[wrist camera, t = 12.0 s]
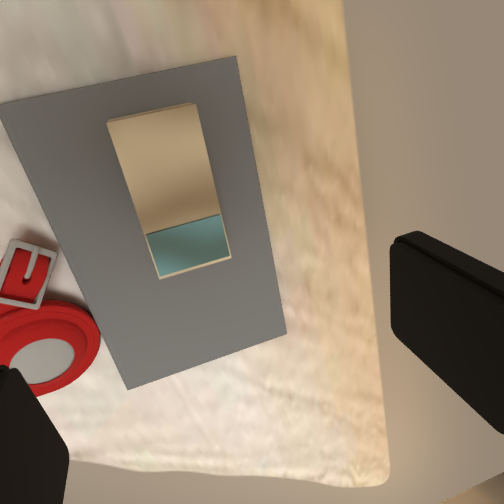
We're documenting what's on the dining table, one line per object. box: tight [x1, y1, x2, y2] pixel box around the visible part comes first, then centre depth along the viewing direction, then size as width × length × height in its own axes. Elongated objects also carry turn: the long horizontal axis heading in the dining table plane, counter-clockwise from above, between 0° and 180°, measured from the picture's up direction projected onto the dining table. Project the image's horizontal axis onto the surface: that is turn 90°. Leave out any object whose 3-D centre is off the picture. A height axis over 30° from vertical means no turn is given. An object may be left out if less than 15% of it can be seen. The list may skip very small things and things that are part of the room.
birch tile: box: [106, 102, 231, 280], centre depth 24 cm, size 10×5×3 cm, turn 11°
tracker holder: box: [0, 239, 100, 397], centre depth 25 cm, size 12×4×10 cm
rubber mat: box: [0, 56, 287, 390], centre depth 27 cm, size 14×22×1 cm, turn 11°
